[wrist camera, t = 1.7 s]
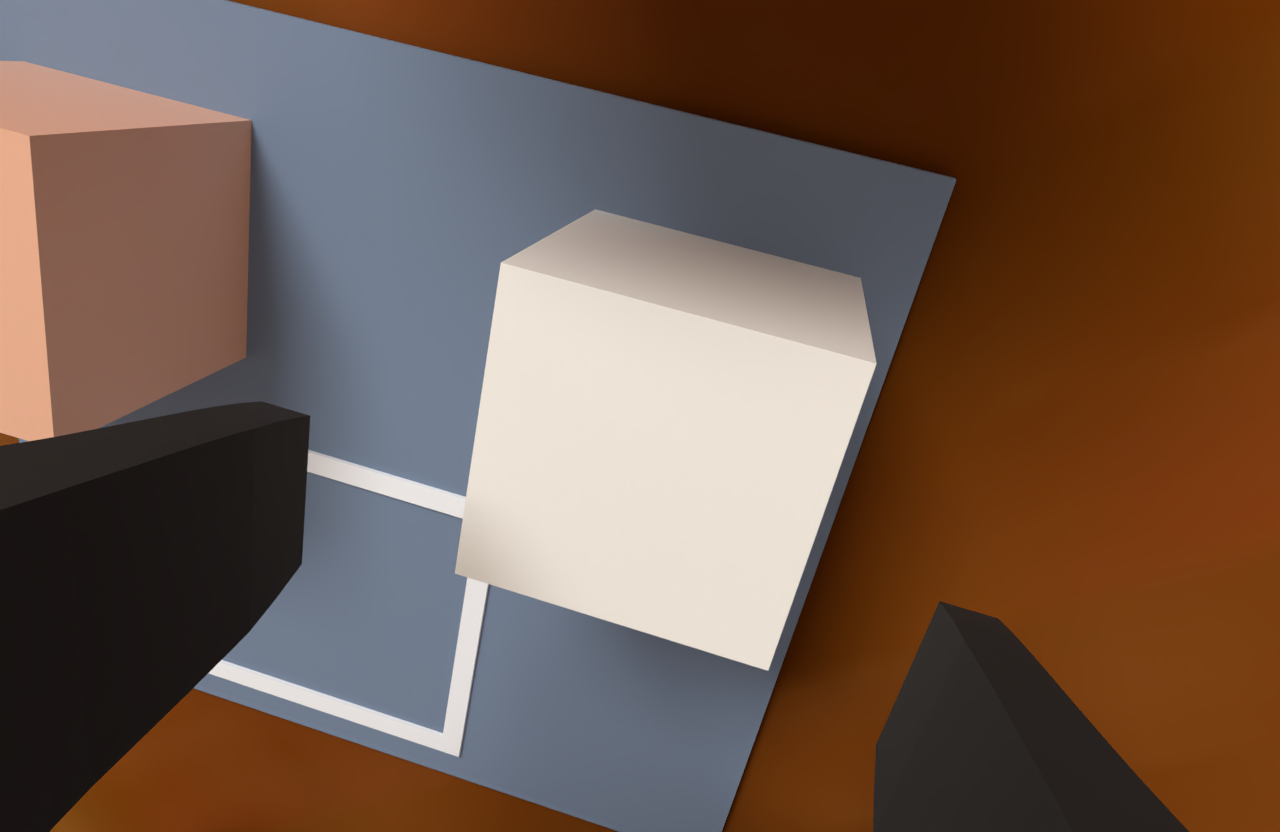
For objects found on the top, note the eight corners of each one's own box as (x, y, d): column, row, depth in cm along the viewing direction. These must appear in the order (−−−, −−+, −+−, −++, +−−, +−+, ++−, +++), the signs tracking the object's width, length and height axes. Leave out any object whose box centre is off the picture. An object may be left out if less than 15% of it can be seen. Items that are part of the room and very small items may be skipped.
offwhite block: (783, 513, 17) (768, 671, 13) (550, 446, 18) (454, 573, 13) (860, 277, 15) (876, 363, 10) (595, 208, 16) (500, 262, 11)
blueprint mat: (712, 852, 21) (710, 865, 21) (47, 629, 23) (35, 638, 23) (953, 177, 14) (957, 179, 14) (-17, -60, 16) (-36, -62, 16)
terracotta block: (246, 357, 18) (54, 449, 14) (42, 298, 19) (-207, 368, 14) (251, 120, 16) (28, 135, 12) (24, 61, 17) (-274, 54, 12)
